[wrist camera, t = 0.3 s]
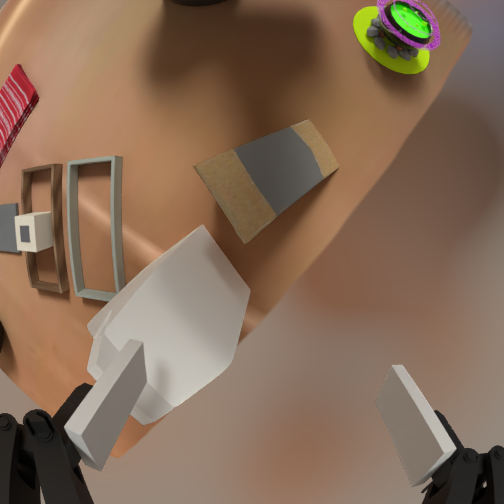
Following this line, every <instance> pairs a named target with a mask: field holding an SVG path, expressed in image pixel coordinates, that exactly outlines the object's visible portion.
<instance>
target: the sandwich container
mask: <svg viewBox="0 0 504 504" xmlns="http://www.w3.org/2000/svg"><path fill="white" fill-rule="evenodd" d="M193 167H194V169H195V170H196V171H197V173H198V174H199V176H200V177H201V179H202V180H203V182H204V183H205V185H206V186H207V188H208V189H209V191H210V192H211V194H212V195H213V197H214V198H215V200H216V201H217V203H218V204H219V206H220V207H221V209H222V210H223V212H224V214H225V215H226V217H227V218H228V220H229V221H230V223H231V224H232V226H233V228H234V229H235V231H236V232H237V234H238V235H239V237H240V238H241V240H242V242H243V243H244V244H247V243H248V242H249V241H251V240H252V239H253V238H254V237H255V236H256V235H257V234H258V233H259V232H261V231H262V230H263V229H264V228H265V227H266V226H267V225H268V224H269V223H271V222H272V221H273V220H274V219H275V218H276V217H277V216H279V215H280V214H281V213H282V212H284V211H285V210H286V209H287V208H289V207H290V206H291V205H292V204H293V203H295V202H296V201H297V200H298V199H300V198H301V197H302V196H303V195H305V194H306V193H307V192H308V191H310V190H311V189H312V188H313V187H315V186H316V185H317V184H318V183H320V182H321V181H322V180H323V179H325V178H326V177H327V176H329V175H330V174H331V173H333V172H334V171H335V170H336V169H338V168H339V164H338V163H337V161H336V159H335V157H334V155H333V154H332V152H331V150H330V148H329V147H328V145H327V143H326V142H325V140H324V139H323V137H322V136H321V135H320V133H319V132H318V130H317V129H316V128H315V126H314V125H313V123H312V122H311V121H310V120H309V119H308V120H305V121H302V122H300V123H297V124H294V125H292V126H289V127H287V128H284V129H281V130H279V131H276V132H274V133H271V134H269V135H266V136H263V137H261V138H258V139H256V140H253V141H251V142H248V143H246V144H244V145H241V146H239V147H237V148H234V149H232V150H229V151H227V152H224V153H222V154H220V155H217V156H215V157H212V158H210V159H208V160H205V161H203V162H201V163H198V164H196V165H194V166H193Z"/></svg>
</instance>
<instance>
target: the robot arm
mask: <svg viewBox="0 0 504 504" xmlns="http://www.w3.org/2000/svg"><path fill="white" fill-rule="evenodd" d="M173 1H174V2H176V3H179V4H182V5H188V6H203V5H210V4H215V3H219V2H222V1H225V0H173ZM146 383H147V375H146V366H145V356H144V345H143V342H142V341H137V340H133V339H129V340H128V342H127V343H126V344H125V346H124V347H123V348H122V349H121V351H120V352H119V353H118V355H117V356H116V357H115V358H114V360H113V361H112V362H111V364H110V365H109V366H108V368H107V369H106V370H105V371H104V373H103V374H102V375H101V377H100V378H99V379H98V381H97V382H96V383H95V385H94V386H92V385H89V384H87V383H83V384H82V385H80V386H78V387H77V388H75V390H74V391H73V392H72V393H71V395H70V397H68V398H67V400H66V402H64V404H63V405H62V406H61V407H60V409H59V410H58V411H57V413H56V414H55V415H54V416H53V418H51V416H50V415H49V414H48V413H47V412H46V411H43V410H39V409H35V410H31V411H29V412H28V413H26V415H25V416H24V418H23V424H24V425H22V424H18V423H17V421H16V419H15V418H14V417H13V416H12V415H10V414H8V413H2V414H0V504H41V500H40V486H41V489H42V493H43V497H44V500H45V503H46V504H94V502H93V500H92V498H91V496H90V493H89V491H88V489H87V486H86V483H85V480H84V478H83V475H82V472H81V469H80V467H79V465H78V463H79V462H80V460H81V459H82V460H83V462H84V463H85V465H87V466H89V467H91V468H94V469H96V470H98V471H102V469H103V467H104V465H105V463H106V460H107V458H108V456H109V454H110V452H111V450H112V448H113V446H114V444H115V443H116V441H117V439H118V437H119V435H120V433H121V431H122V429H123V427H124V425H125V423H126V421H127V419H128V417H129V415H130V413H131V411H132V409H133V408H134V406H135V404H136V402H137V400H138V398H139V396H140V394H141V392H142V391H143V389H144V387H145V385H146ZM375 403H376V405H377V407H378V410H379V412H380V414H381V416H382V418H383V421H384V423H385V425H386V427H387V430H388V432H389V434H390V436H391V439H392V441H393V443H394V446H395V448H396V450H397V452H398V455H399V458H400V460H401V462H402V465H403V467H404V470H405V472H406V475H407V477H408V480H409V482H410V484H411V487H414V486H417V485H420V484H423V483H425V482H426V481H427V480H428V479H429V478H430V477H432V479H433V481H432V482H431V483H430V484H429V485H428V486H426V487H425V488H424V489H423V491H422V492H421V493H424V492H425V491H426V490H427V489H428V490H427V493H426V495H425V498H424V500H423V502H422V504H504V448H503V447H501V446H498V445H497V446H494V447H493V448H492V449H491V450H490V451H489V452H488V453H483V454H478V453H477V452H476V451H475V450H473V449H471V448H464V447H463V445H462V444H461V442H460V441H459V439H458V437H457V436H456V434H455V432H454V431H453V430H452V429H451V426H450V425H449V424H448V421H447V420H446V418H445V417H444V415H442V414H441V413H440V412H439V411H437V410H435V411H433V409H432V408H431V406H430V405H429V403H428V402H427V400H426V399H425V397H424V396H423V394H422V393H421V391H420V390H419V388H418V387H417V385H416V384H415V382H414V381H413V379H412V378H411V376H410V375H409V373H408V372H407V371H406V369H405V368H404V366H403V365H392V366H391V368H390V370H389V372H388V375H387V377H386V379H385V381H384V383H383V386H382V388H381V390H380V392H379V394H378V396H377V398H376V400H375ZM485 482H486V483H487V486H486V487H485V488H484V487H483V484H484V483H485Z"/></svg>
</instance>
